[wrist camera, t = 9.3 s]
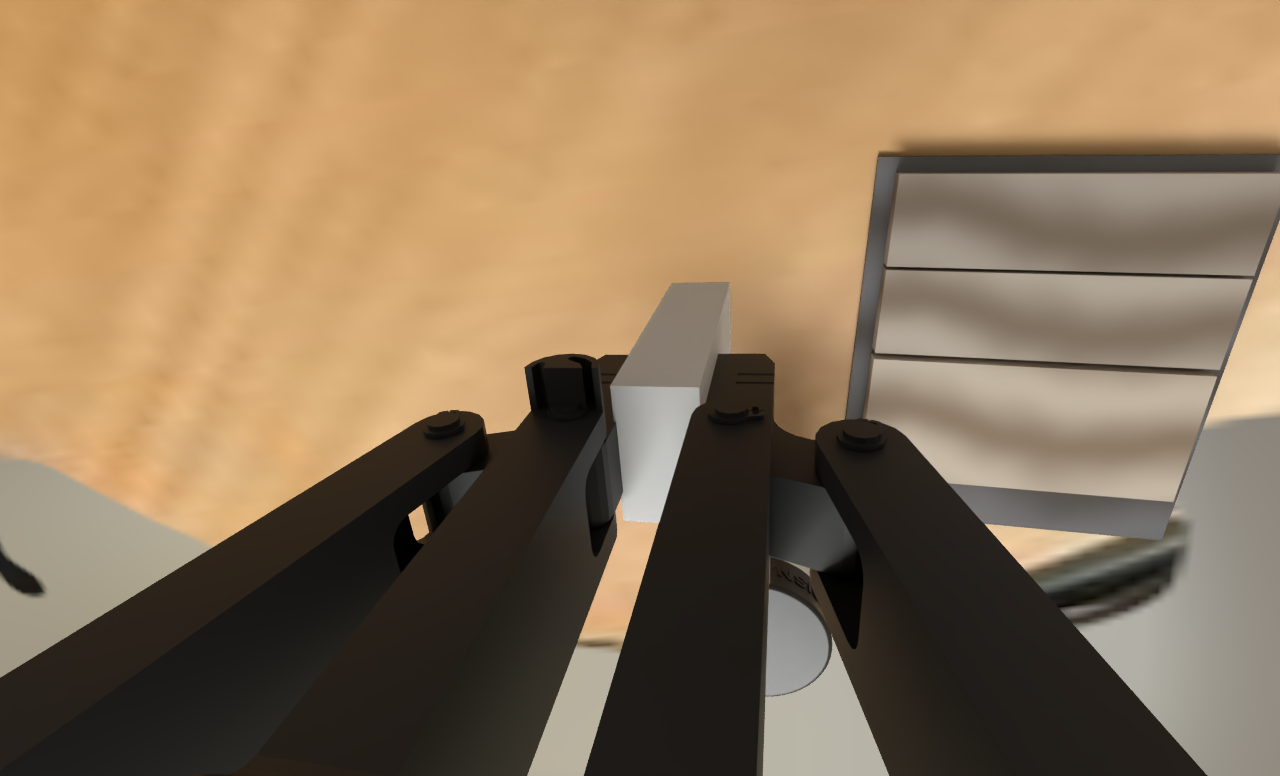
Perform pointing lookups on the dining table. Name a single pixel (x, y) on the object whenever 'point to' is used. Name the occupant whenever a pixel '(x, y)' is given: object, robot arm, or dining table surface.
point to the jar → (794, 630)
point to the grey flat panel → (1064, 281)
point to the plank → (1044, 421)
